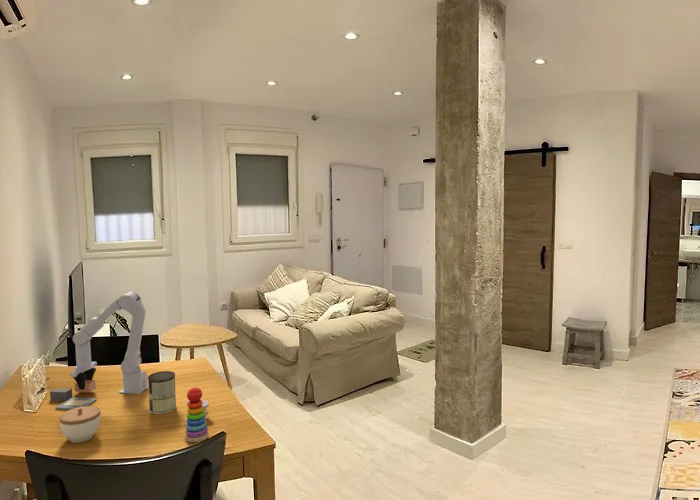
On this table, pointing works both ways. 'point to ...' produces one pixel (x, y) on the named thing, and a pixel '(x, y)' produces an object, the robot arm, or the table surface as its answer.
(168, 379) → the coffee can
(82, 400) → the slate baseplate
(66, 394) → the charcoal brick
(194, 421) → the stacking toy
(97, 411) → the lidded bowl
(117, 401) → the table surface
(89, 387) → the terracotta brick
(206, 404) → the toy table
